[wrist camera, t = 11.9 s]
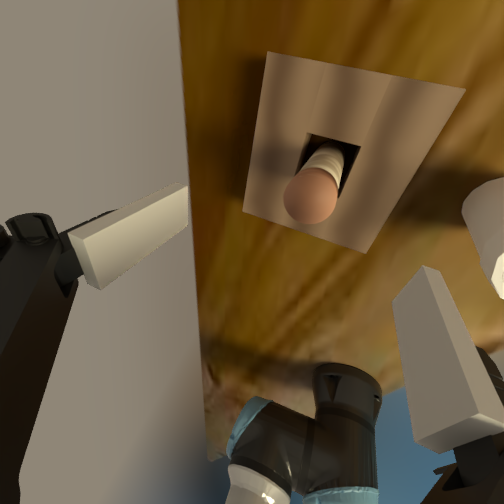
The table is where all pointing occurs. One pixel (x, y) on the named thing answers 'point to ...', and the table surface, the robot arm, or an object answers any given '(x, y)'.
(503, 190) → the foam cup
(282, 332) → the table surface
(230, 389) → the table surface
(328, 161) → the dowel
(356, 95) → the square peg hole block
